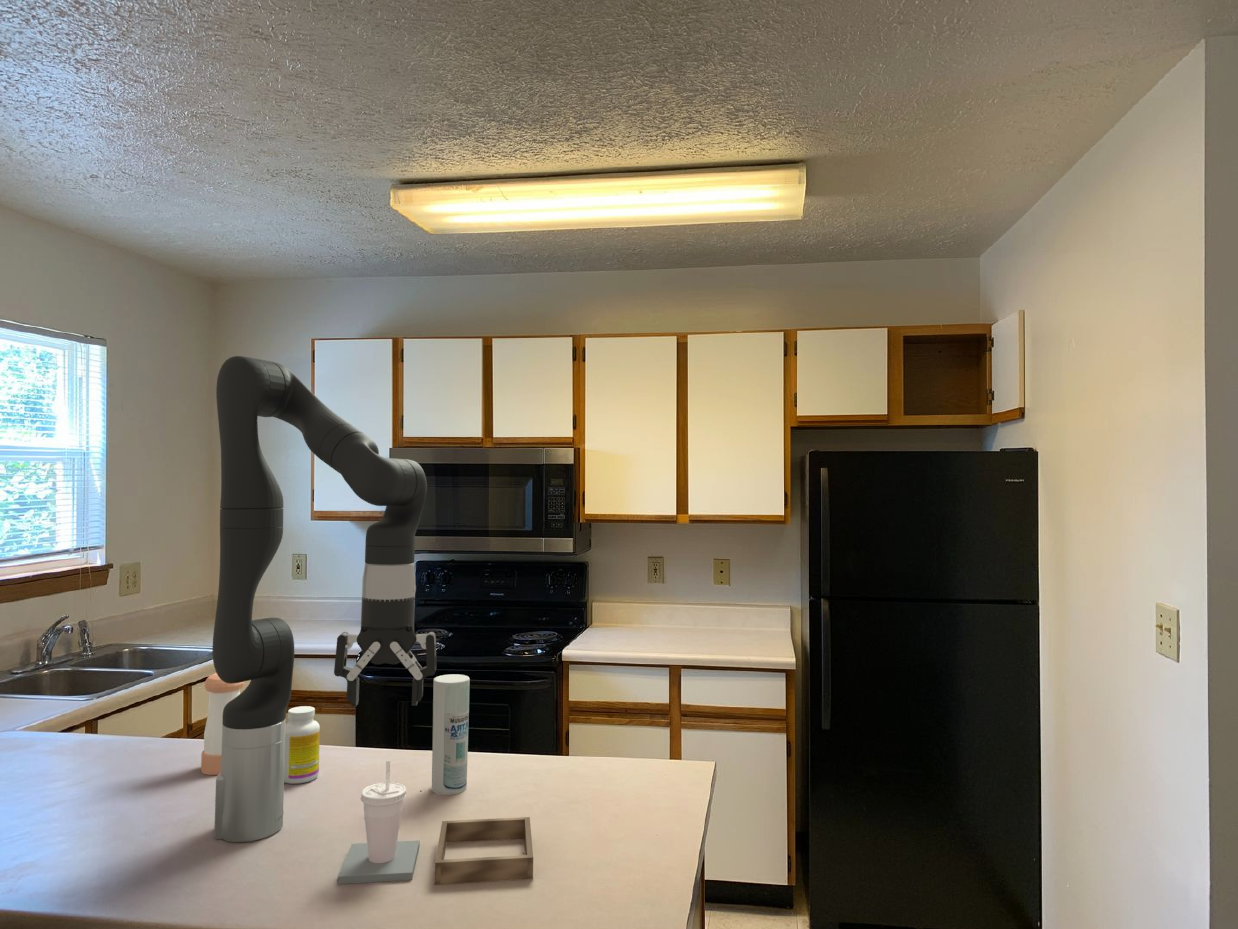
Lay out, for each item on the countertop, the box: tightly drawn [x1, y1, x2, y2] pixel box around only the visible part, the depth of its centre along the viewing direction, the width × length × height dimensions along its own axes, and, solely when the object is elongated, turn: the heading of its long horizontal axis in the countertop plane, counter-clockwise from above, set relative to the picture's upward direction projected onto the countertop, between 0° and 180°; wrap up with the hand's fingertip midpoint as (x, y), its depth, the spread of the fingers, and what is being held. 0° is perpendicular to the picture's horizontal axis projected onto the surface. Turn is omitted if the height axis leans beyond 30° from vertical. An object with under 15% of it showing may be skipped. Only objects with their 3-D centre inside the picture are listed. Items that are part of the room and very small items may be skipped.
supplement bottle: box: [284, 705, 321, 785], centre depth 146 cm, size 7×7×13 cm
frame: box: [434, 816, 534, 886], centre depth 115 cm, size 14×14×3 cm
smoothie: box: [360, 759, 407, 863], centre depth 114 cm, size 6×6×14 cm
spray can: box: [431, 673, 471, 796], centre depth 142 cm, size 6×6×20 cm
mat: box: [337, 839, 421, 885], centre depth 113 cm, size 10×10×1 cm
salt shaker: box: [200, 672, 246, 776], centre depth 151 cm, size 7×7×19 cm
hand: (385, 704), depth 114 cm, fingers open, 8 cm apart
